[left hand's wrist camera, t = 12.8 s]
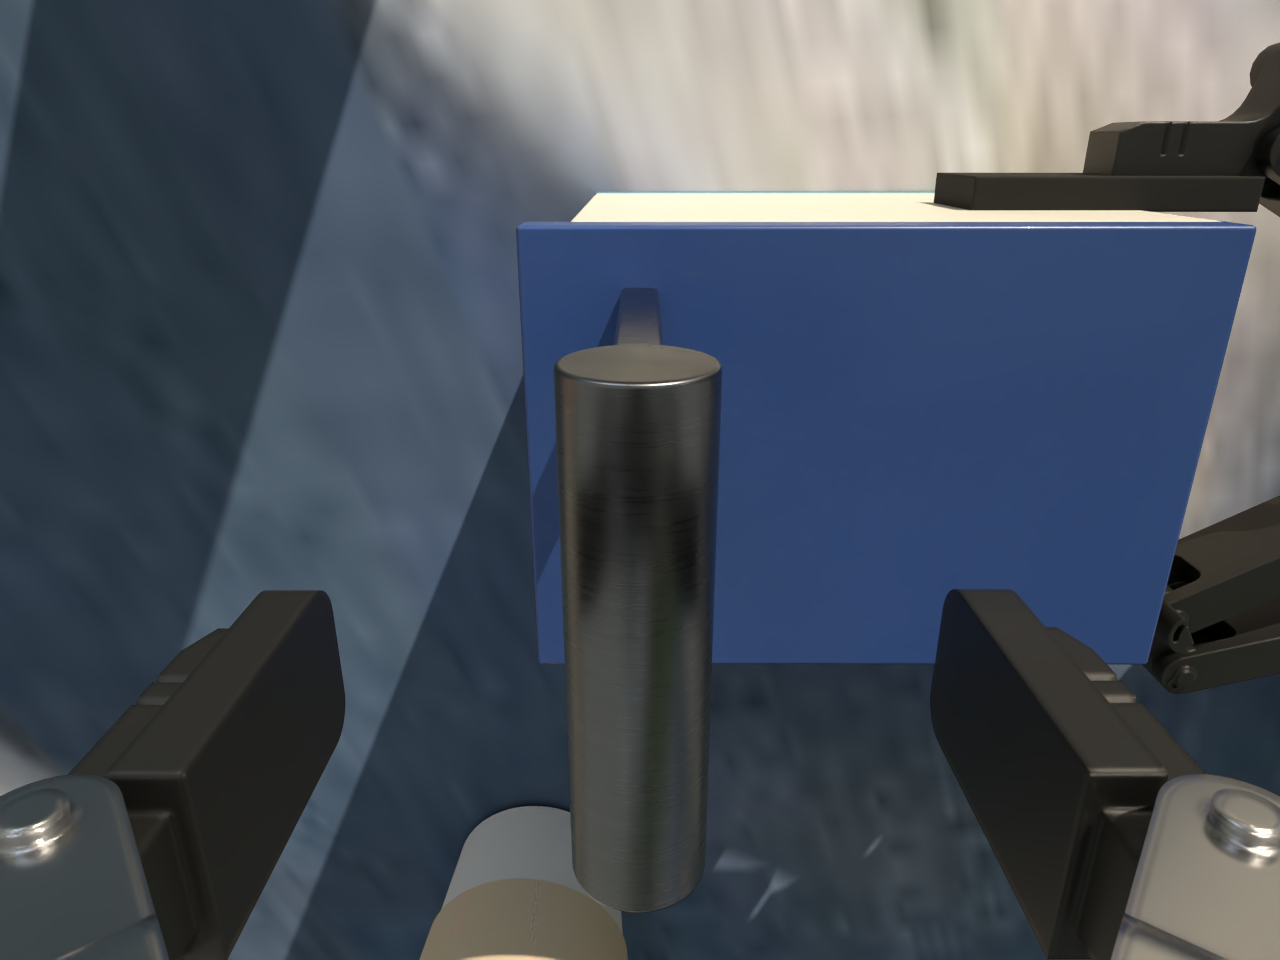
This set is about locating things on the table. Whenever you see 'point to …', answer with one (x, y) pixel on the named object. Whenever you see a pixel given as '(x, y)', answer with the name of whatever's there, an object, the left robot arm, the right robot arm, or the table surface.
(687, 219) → the chest
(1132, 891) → the left robot arm
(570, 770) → the lid
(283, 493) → the table surface
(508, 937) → the coffee cup
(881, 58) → the table surface
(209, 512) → the table surface
